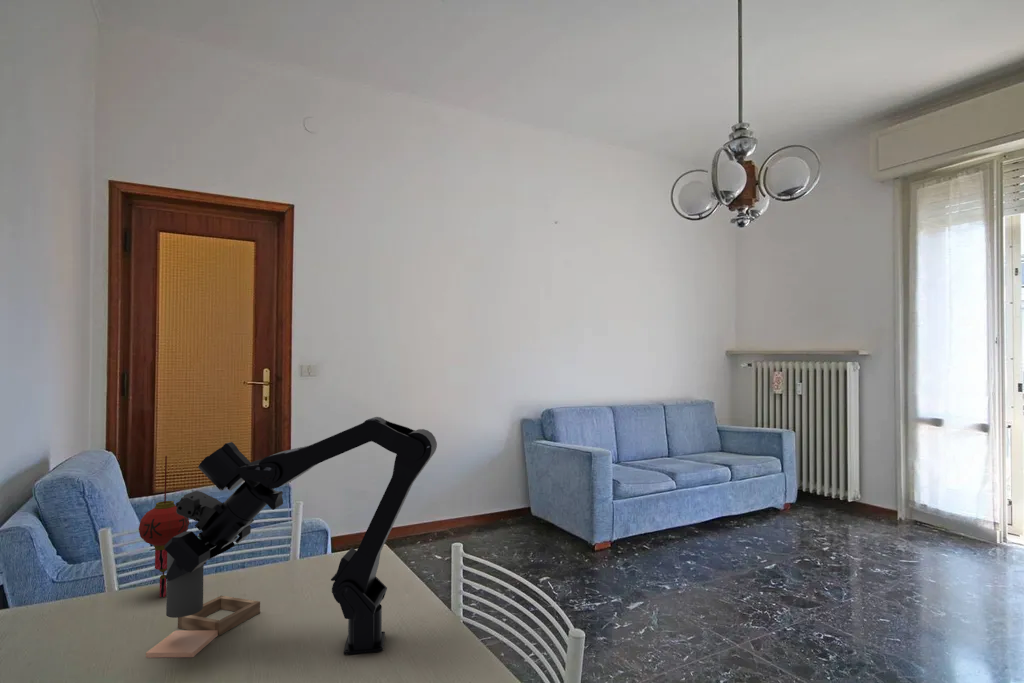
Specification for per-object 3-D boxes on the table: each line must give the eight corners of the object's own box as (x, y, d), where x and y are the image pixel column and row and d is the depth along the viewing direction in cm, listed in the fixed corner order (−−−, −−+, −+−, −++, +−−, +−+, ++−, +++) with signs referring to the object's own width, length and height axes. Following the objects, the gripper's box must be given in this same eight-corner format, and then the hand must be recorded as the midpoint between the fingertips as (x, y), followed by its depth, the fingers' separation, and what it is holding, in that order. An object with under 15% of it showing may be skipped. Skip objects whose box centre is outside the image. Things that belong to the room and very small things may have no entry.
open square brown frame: (260, 612, 111) (260, 601, 111) (219, 635, 101) (219, 623, 102) (220, 606, 114) (221, 595, 114) (177, 628, 105) (177, 616, 105)
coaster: (218, 634, 102) (218, 630, 102) (193, 657, 94) (193, 652, 94) (174, 635, 102) (175, 630, 102) (145, 657, 94) (146, 652, 94)
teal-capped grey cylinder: (202, 613, 97) (203, 543, 98) (164, 620, 94) (166, 548, 95) (203, 601, 102) (204, 535, 103) (167, 608, 99) (168, 539, 100)
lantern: (197, 587, 124) (200, 452, 126) (170, 605, 115) (173, 459, 116) (155, 588, 124) (158, 452, 126) (125, 605, 115) (129, 459, 117)
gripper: (235, 467, 109) (178, 525, 108) (177, 487, 90) (108, 558, 89) (275, 508, 108) (218, 566, 108) (225, 536, 90) (155, 607, 89)
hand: (177, 572), depth 98 cm, fingers closed on teal-capped grey cylinder, 6 cm apart
